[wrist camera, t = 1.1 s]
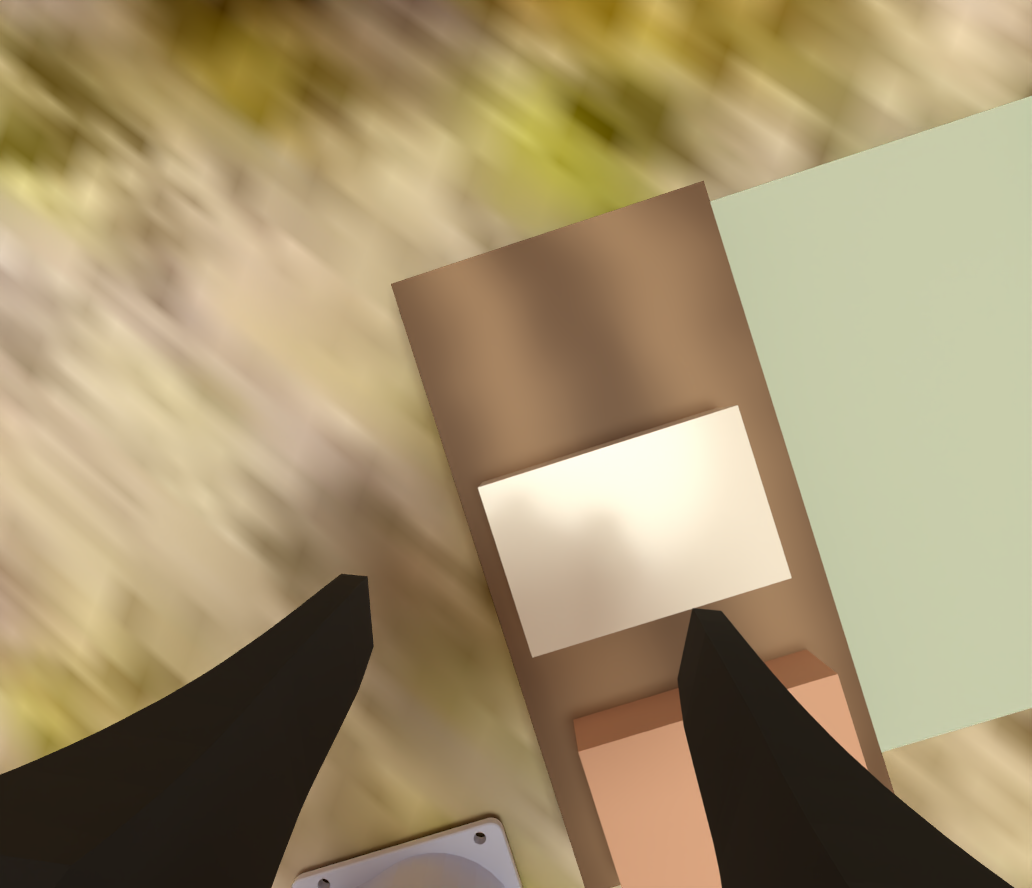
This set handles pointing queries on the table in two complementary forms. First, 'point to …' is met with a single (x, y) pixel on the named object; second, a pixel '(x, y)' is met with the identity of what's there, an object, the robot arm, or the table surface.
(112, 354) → the table surface
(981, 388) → the mat
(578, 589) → the tile
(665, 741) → the tile
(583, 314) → the board
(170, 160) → the table surface
